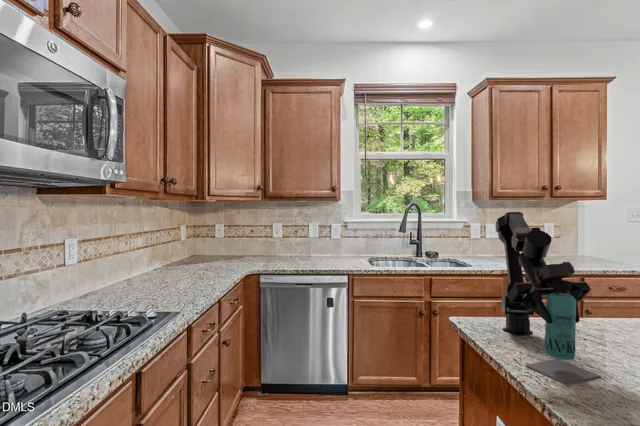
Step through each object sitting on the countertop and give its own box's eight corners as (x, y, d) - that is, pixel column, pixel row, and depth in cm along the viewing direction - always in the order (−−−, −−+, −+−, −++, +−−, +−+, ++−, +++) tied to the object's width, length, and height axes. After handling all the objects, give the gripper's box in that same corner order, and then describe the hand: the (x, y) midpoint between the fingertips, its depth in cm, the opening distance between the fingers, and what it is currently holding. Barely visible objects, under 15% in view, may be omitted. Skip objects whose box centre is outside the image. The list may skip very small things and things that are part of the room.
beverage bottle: (538, 355, 94) (539, 277, 94) (565, 356, 94) (566, 278, 94) (553, 366, 88) (555, 282, 88) (582, 367, 87) (583, 282, 87)
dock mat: (525, 366, 94) (525, 364, 94) (557, 360, 98) (557, 358, 98) (566, 385, 84) (566, 383, 84) (600, 377, 87) (600, 375, 87)
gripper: (513, 251, 94) (540, 305, 83) (585, 250, 95) (621, 304, 84) (498, 276, 102) (521, 329, 91) (564, 275, 103) (595, 327, 92)
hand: (564, 322), depth 89 cm, fingers closed on beverage bottle, 6 cm apart
